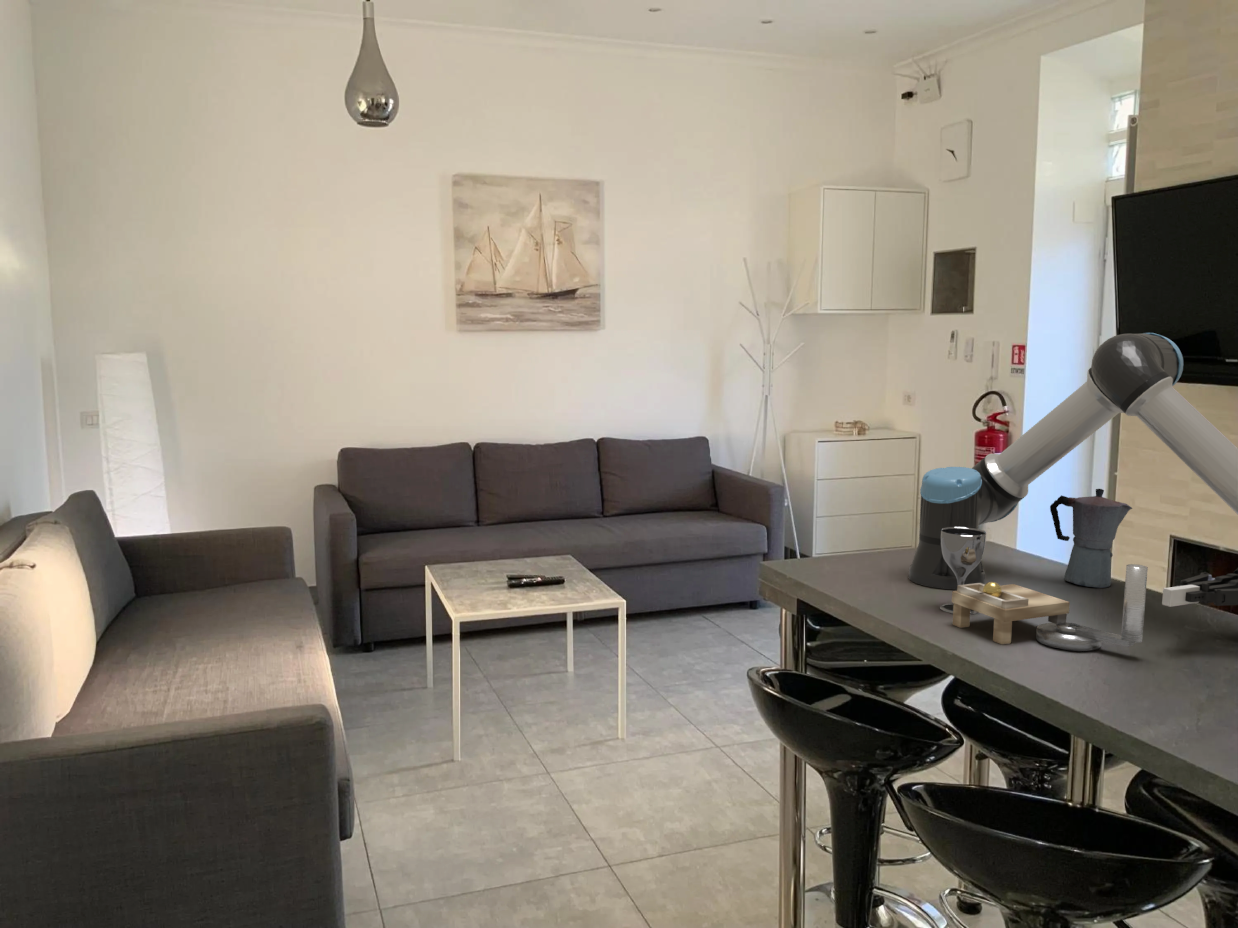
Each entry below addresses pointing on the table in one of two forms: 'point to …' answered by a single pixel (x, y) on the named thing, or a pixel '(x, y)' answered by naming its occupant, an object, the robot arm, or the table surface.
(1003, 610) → the stand
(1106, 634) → the silver l-shaped piece
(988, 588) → the ball
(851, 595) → the table surface
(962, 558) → the wine glass
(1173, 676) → the table surface
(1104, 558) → the moka pot
